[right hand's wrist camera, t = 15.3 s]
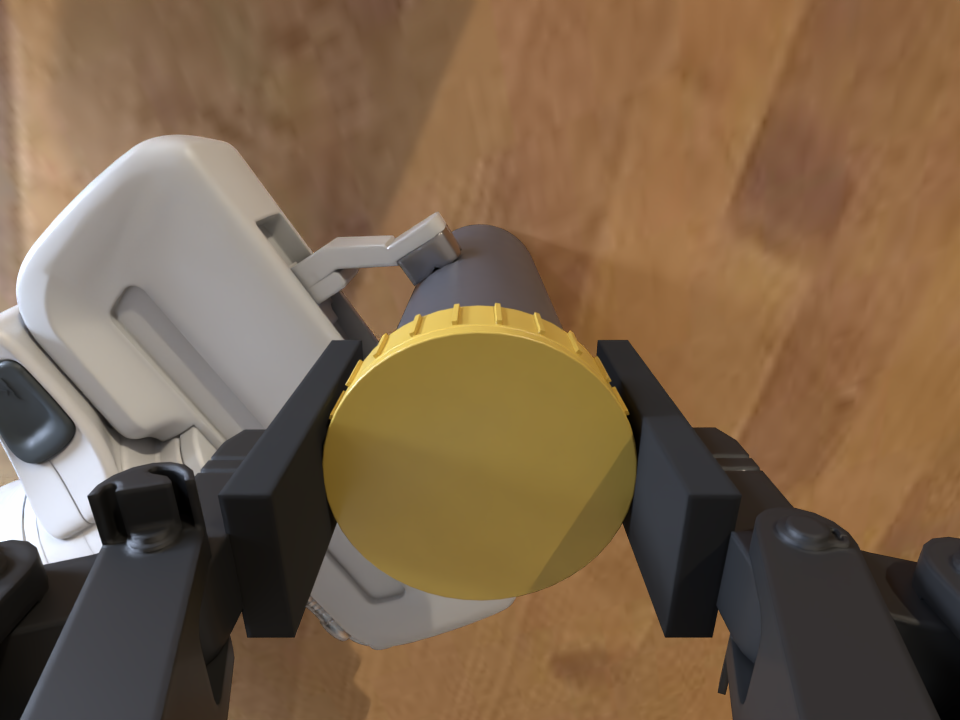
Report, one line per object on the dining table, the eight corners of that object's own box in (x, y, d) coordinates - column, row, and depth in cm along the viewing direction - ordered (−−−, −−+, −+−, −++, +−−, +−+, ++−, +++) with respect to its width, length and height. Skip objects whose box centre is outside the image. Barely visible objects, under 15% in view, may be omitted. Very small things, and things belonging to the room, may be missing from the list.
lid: (571, 572, 13) (583, 627, 12) (320, 521, 13) (299, 572, 11) (662, 341, 11) (691, 372, 10) (364, 269, 11) (345, 290, 9)
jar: (452, 351, 26) (420, 594, 12) (404, 252, 25) (302, 404, 11) (552, 309, 26) (642, 518, 12) (510, 204, 24) (554, 299, 10)
